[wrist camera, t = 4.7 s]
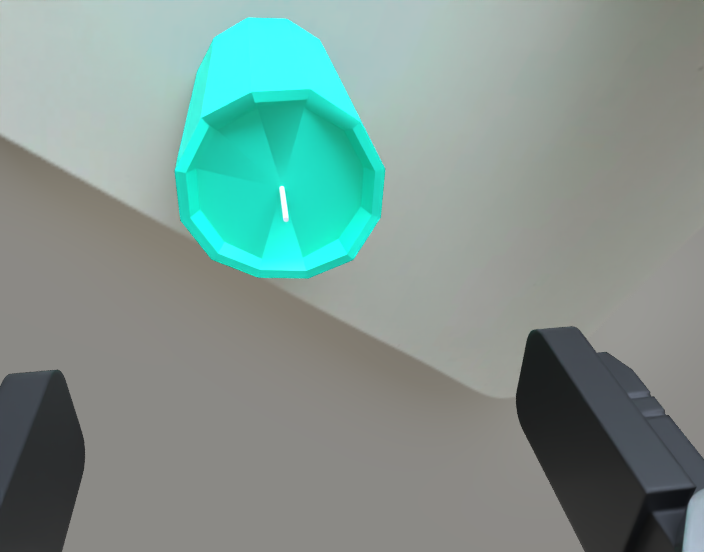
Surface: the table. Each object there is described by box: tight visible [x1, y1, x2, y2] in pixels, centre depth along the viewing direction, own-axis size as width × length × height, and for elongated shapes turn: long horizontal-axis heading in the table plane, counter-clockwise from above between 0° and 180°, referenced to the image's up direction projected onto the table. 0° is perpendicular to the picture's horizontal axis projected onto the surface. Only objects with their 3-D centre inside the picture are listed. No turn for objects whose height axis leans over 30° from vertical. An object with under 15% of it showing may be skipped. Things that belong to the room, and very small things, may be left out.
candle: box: [175, 18, 385, 278], centre depth 21 cm, size 6×6×12 cm
